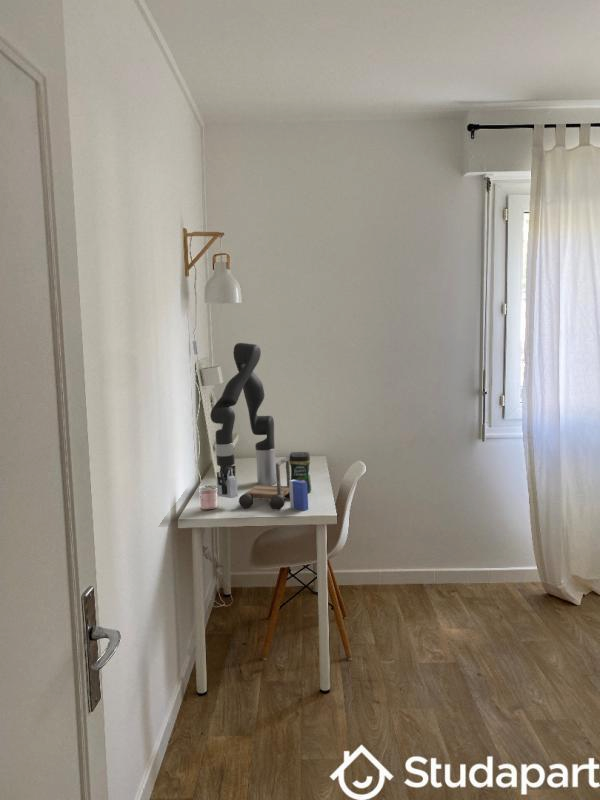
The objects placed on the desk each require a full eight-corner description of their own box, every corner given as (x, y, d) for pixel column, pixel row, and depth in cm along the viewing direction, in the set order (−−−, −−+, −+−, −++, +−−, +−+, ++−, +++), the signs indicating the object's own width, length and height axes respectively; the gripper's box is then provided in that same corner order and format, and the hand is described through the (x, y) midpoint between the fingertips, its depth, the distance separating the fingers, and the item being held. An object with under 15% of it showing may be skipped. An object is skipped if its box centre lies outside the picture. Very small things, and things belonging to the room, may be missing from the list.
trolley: (255, 496, 294) (253, 455, 291) (297, 498, 287) (295, 455, 285) (239, 508, 277) (236, 463, 275) (283, 510, 270) (280, 464, 268)
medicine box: (238, 496, 278) (237, 476, 277) (230, 498, 275) (229, 478, 274) (225, 494, 283) (223, 474, 282) (217, 496, 280) (216, 476, 279)
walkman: (308, 509, 270) (307, 480, 269) (303, 510, 268) (302, 482, 267) (294, 506, 275) (293, 478, 274) (290, 507, 273) (288, 479, 272)
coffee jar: (289, 494, 295) (287, 454, 293) (292, 489, 303) (289, 450, 301) (310, 494, 294) (308, 453, 291) (312, 489, 301) (310, 450, 299)
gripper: (225, 457, 269) (228, 497, 271) (240, 450, 282) (242, 488, 284) (209, 457, 271) (212, 496, 273) (224, 450, 285) (227, 487, 287)
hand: (227, 492), depth 279 cm, fingers closed on medicine box, 5 cm apart
